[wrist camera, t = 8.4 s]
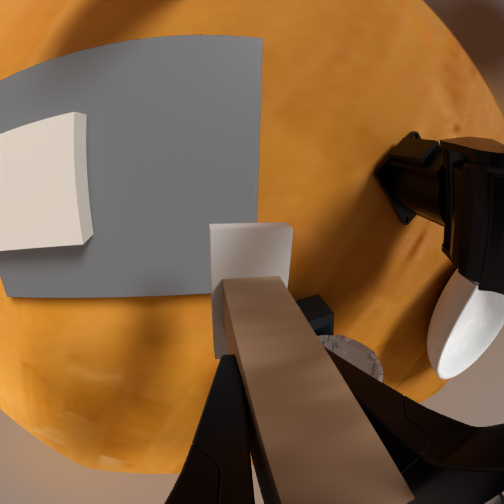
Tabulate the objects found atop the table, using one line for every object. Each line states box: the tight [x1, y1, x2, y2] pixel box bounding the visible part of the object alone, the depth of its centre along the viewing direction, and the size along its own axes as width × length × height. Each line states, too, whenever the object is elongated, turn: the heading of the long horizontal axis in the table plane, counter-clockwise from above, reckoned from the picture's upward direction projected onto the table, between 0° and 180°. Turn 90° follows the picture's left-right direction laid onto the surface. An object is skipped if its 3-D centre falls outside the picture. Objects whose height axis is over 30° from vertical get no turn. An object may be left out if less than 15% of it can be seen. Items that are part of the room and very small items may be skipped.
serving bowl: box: [427, 268, 504, 379], centre depth 27 cm, size 21×21×7 cm
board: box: [0, 35, 263, 298], centre depth 15 cm, size 22×18×2 cm
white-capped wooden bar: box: [209, 222, 415, 504], centre depth 7 cm, size 3×6×10 cm, turn 178°
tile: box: [0, 112, 93, 251], centre depth 13 cm, size 2×8×9 cm
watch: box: [295, 294, 383, 382], centre depth 19 cm, size 6×8×11 cm
